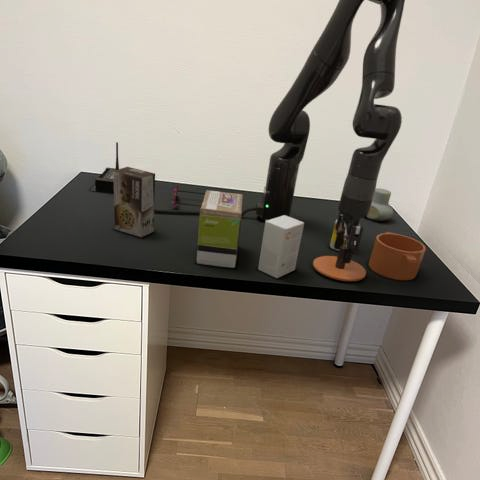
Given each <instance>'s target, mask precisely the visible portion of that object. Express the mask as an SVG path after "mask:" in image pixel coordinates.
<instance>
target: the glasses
mask: <svg viewBox="0 0 480 480" xmlns="http://www.w3.org/2000/svg"><path fill="white" fill-rule="evenodd" d="M173 192H174V201H171V205H173V210H176V205H182V206H192V207H201V206H202V204H194V203H193V204H192V203H184V202H179V198H180V197H179V195H178V192H179V193H187V194H188V193H189V194H199V195H205V193H206V192H196V191H188V190H181V189H179V185H176V187H175V189H173Z"/></svg>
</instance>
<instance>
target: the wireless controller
mask: <svg viewBox="0 0 480 480" xmlns="http://www.w3.org/2000/svg"><path fill="white" fill-rule="evenodd" d="M119 161H120V160H119V142H115V168H114V167H106V168H105V169H104V171H102V172H101V174H99V176H97V177H96V178H95V179H94V186H93V187H92V188H91V189H90V191H91V192H96V193H97V192H98V193H105V194H113V195H114V176H113V171H116V170H119V169H120V164H119Z"/></svg>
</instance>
